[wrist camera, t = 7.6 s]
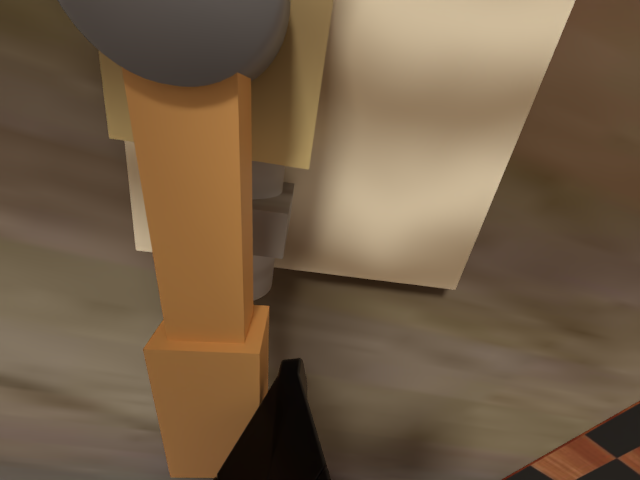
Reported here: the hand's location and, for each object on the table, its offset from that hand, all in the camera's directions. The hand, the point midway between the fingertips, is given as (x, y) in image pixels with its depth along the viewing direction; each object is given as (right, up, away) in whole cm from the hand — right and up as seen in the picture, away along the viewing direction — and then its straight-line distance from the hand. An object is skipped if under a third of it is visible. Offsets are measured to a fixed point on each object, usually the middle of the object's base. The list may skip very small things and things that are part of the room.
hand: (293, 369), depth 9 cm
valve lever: (-2, +4, -1) cm, 4 cm away
